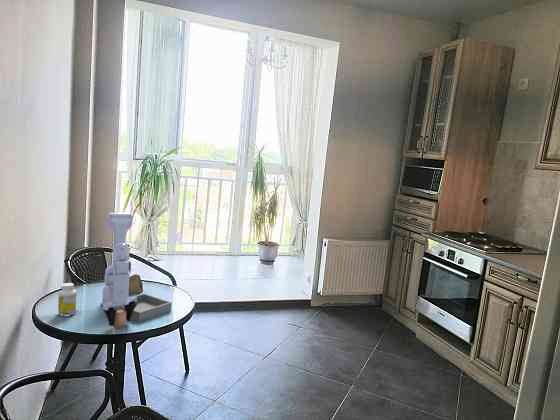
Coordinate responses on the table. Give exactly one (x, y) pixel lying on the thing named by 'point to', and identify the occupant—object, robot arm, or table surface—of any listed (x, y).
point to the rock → (135, 284)
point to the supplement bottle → (67, 299)
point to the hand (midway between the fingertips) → (119, 322)
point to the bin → (148, 307)
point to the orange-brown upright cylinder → (120, 319)
